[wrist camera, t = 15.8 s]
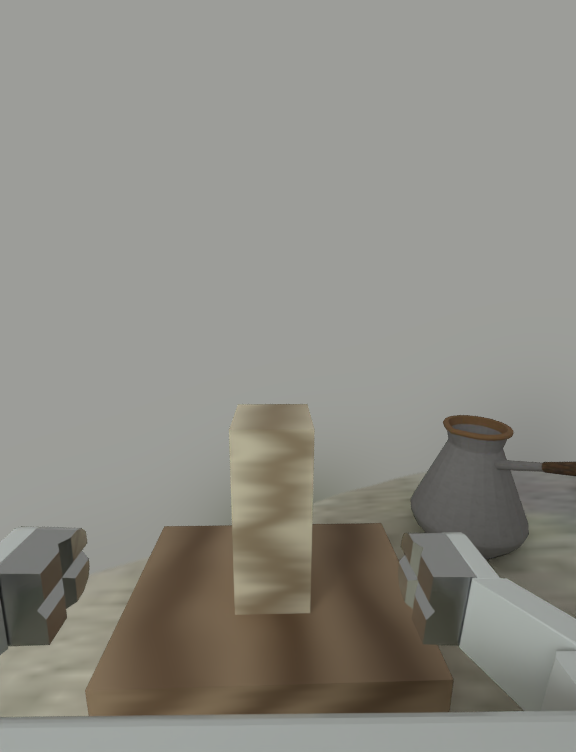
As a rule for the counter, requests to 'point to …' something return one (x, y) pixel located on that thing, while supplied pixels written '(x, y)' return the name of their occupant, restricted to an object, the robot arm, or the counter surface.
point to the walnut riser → (268, 636)
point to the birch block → (272, 507)
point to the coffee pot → (477, 487)
